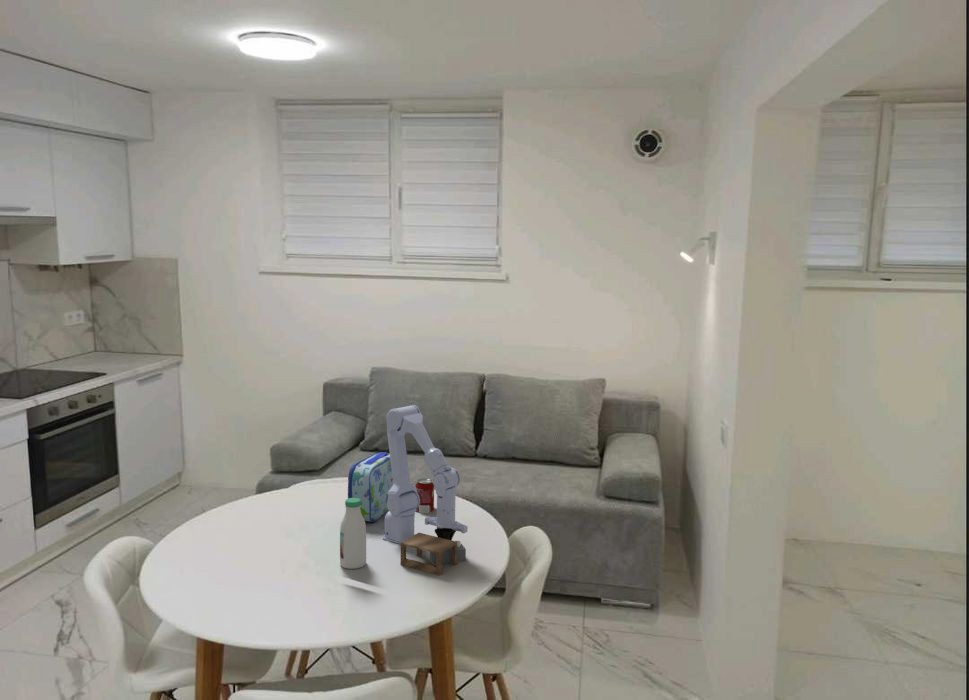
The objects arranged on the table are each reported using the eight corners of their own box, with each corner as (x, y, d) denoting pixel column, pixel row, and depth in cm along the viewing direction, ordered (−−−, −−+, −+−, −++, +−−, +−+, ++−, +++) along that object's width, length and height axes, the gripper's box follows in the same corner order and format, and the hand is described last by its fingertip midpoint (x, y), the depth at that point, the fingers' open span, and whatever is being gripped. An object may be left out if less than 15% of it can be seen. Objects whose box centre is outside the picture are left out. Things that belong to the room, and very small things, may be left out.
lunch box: (375, 500, 280) (375, 446, 278) (401, 503, 277) (402, 448, 275) (343, 523, 255) (343, 464, 253) (372, 527, 253) (372, 467, 250)
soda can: (430, 516, 264) (431, 484, 262) (412, 515, 265) (412, 482, 264) (436, 510, 270) (436, 478, 269) (418, 508, 272) (418, 477, 270)
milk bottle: (370, 561, 225) (370, 497, 222) (358, 571, 217) (358, 505, 215) (348, 557, 227) (348, 494, 225) (335, 567, 220) (334, 502, 217)
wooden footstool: (400, 564, 223) (400, 542, 222) (418, 554, 231) (418, 532, 230) (439, 575, 216) (440, 552, 215) (456, 564, 224) (457, 541, 223)
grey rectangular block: (430, 559, 228) (430, 541, 227) (461, 555, 231) (461, 538, 230) (433, 565, 223) (433, 547, 223) (465, 561, 226) (465, 544, 226)
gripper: (419, 507, 229) (418, 549, 231) (459, 516, 222) (458, 559, 224) (432, 501, 235) (431, 542, 237) (471, 509, 228) (470, 552, 230)
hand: (445, 550), depth 231 cm, fingers closed
